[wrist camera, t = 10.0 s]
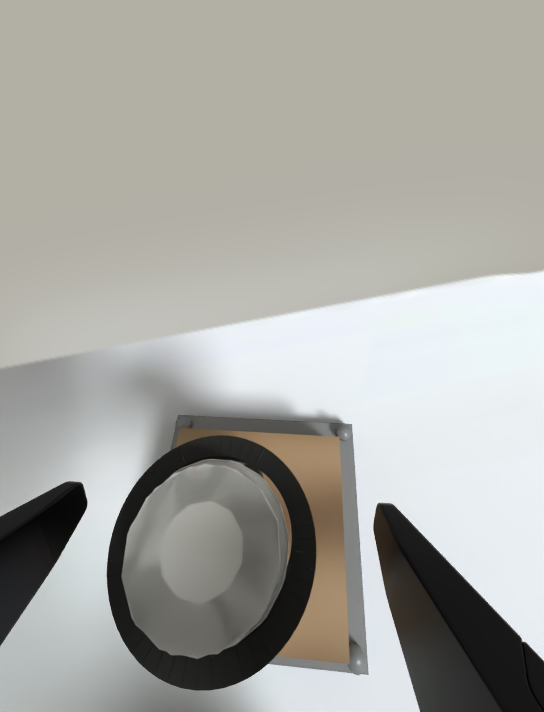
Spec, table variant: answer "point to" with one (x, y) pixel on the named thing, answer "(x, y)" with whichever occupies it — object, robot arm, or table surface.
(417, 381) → the table surface
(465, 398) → the table surface
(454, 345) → the table surface
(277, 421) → the base plate
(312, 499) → the tan flat square block
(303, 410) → the table surface
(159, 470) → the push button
